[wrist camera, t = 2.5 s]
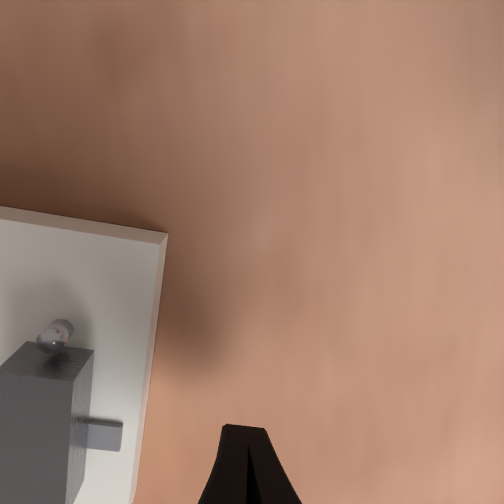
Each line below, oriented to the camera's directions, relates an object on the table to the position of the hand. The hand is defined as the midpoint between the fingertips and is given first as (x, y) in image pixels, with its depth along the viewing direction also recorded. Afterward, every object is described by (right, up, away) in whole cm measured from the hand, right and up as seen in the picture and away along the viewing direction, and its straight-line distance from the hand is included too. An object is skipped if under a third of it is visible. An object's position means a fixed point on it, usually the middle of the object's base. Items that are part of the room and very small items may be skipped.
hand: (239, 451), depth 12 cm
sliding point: (-6, +2, 0) cm, 6 cm away
